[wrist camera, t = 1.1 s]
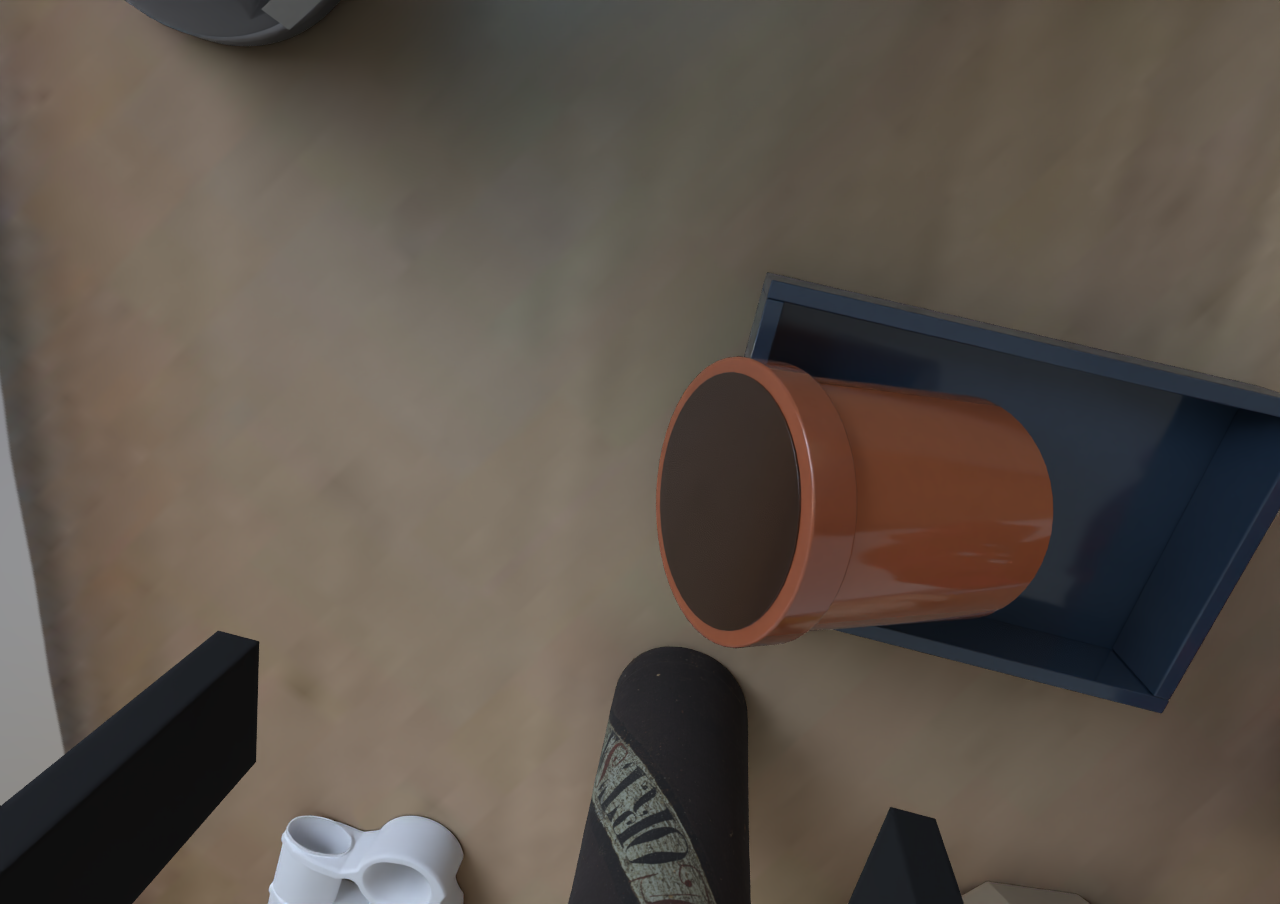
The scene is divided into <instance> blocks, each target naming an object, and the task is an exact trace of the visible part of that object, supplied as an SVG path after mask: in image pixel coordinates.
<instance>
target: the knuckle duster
mask: <svg viewBox="0 0 1280 904" xmlns="http://www.w3.org/2000/svg"><path fill="white" fill-rule="evenodd" d="M281 841H282V842H283V845H282V849H281V853H280V857H279V861H278V865H277V869H276V873H275V877H274V881H273V882H272V883H271V885H270V887H269V892H270V897H269V901H268V904H463V892H462V890H461V889H460V887H459V885H458V883H457V880H456V873H457V871H458V869H459V866H460V864H461V862H462V859H463V851H462V848H461V845H460V843H459V842H458V840H457V839H456V837H455V836H454V835H453V834H452V833H451V832H450V831H449V830H448V829H447V828H445V827H444V826H443V825H441V824H439V823H438V822H436V821H433V820H431V819H428V818H425V817H420V816H402V817H398V818H395V819H393V820H391V821H389V822H388V823H386V824H385V825H384V826H383V827H382V828H381V829H380V830H375V831H367V832H364V831H361V830H358V829H356V828H353V827H351V826H348V825H346V824H343V823H340V822H336V821H333V820H330V819H327V818H324V817H319V816H299V817H296V818H294V819H292V820H291V821H290V822H289V824H288V825H287V829H286V830H285V832H284V833H283V834H282V838H281ZM345 879H349V880H352V881H353V882H355V883H353V882H351V881H348V880H345Z"/></svg>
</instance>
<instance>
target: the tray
mask: <svg viewBox="0 0 1280 904" xmlns="http://www.w3.org/2000/svg"><path fill="white" fill-rule="evenodd" d="M744 357H750V358H758V359H765V360H773V361H780V362H786V363H789V364H791V365H794V366H797V367H798V368H800V369H801V370H803V371H805V372H806V373H808V374H809V375H810V376H816V377H825V378H833V379H841V380H849V381H858V382H866V383H874V384H882V385H891V386H899V387H907V388H915V389H924V390H932V391H940V392H948V393H957V394H964V395H971V396H976V397H979V398H982V399H985V400H988V401H990V402H992V403H994V404H996V405H998V406H1000V407H1001V408H1003V409H1004V410H1006V411H1007V412H1008V413H1010V414H1011V415H1012V416H1013V417H1014V418H1015V419H1016V420H1017V421H1019V422H1020V423H1021V424H1022V425H1023V427H1024V428H1025V429H1026V430H1027V432H1028V433H1029V434H1030V436H1031V437H1032V438H1033V440H1034V442H1035V443H1036V445H1037V447H1038V449H1039V450H1040V452H1041V455H1042V457H1043V460H1044V462H1045V464H1046V467H1047V471H1048V474H1049V478H1050V481H1051V488H1052V495H1053V524H1052V533H1051V537H1050V541H1049V545H1048V549H1047V552H1046V554H1045V557H1044V560H1043V562H1042V564H1041V566H1040V568H1039V570H1038V572H1037V573H1036V575H1035V577H1034V578H1033V580H1032V581H1031V582H1030V584H1029V585H1028V586H1027V588H1026V589H1025V590H1024V591H1023V592H1022V593H1021V594H1020V595H1019V596H1018V597H1017V598H1016V599H1015V600H1013V601H1012V602H1011V603H1009V604H1008V605H1006V606H1005V607H1004V608H1002V609H1000V610H998V611H996V612H994V613H992V614H989V615H986V616H982V617H979V618H972V619H964V620H951V621H937V622H924V623H911V624H897V625H884V626H871V627H857V628H844V629H833V630H837V631H841V632H844V633H848V634H852V635H856V636H860V637H864V638H868V639H872V640H876V641H880V642H884V643H887V644H891V645H895V646H899V647H903V648H907V649H911V650H915V651H919V652H923V653H927V654H931V655H934V656H938V657H942V658H946V659H950V660H954V661H958V662H962V663H966V664H970V665H974V666H977V667H981V668H985V669H989V670H993V671H997V672H1001V673H1005V674H1009V675H1013V676H1017V677H1020V678H1024V679H1028V680H1032V681H1036V682H1040V683H1044V684H1048V685H1052V686H1056V687H1060V688H1064V689H1067V690H1071V691H1075V692H1079V693H1083V694H1087V695H1091V696H1095V697H1099V698H1103V699H1107V700H1110V701H1114V702H1118V703H1122V704H1126V705H1130V706H1134V707H1138V708H1142V709H1146V710H1150V711H1154V712H1157V713H1162V712H1163V711H1164V709H1165V707H1166V706H1167V704H1168V702H1169V699H1170V698H1171V696H1172V694H1173V693H1174V691H1175V689H1176V688H1177V686H1178V684H1179V682H1180V681H1181V679H1182V677H1183V675H1184V674H1185V672H1186V670H1187V668H1188V667H1189V665H1190V663H1191V662H1192V660H1193V658H1194V656H1195V655H1196V653H1197V651H1198V649H1199V648H1200V646H1201V644H1202V643H1203V641H1204V639H1205V637H1206V636H1207V634H1208V632H1209V630H1210V629H1211V627H1212V625H1213V624H1214V622H1215V620H1216V618H1217V617H1218V615H1219V613H1220V611H1221V610H1222V608H1223V606H1224V605H1225V603H1226V601H1227V599H1228V598H1229V596H1230V594H1231V592H1232V591H1233V589H1234V587H1235V585H1236V584H1237V582H1238V580H1239V579H1240V577H1241V575H1242V573H1243V572H1244V570H1245V568H1246V566H1247V565H1248V563H1249V561H1250V560H1251V558H1252V556H1253V554H1254V553H1255V551H1256V549H1257V547H1258V546H1259V544H1260V542H1261V541H1262V539H1263V537H1264V535H1265V534H1266V532H1267V530H1268V528H1269V527H1270V525H1271V523H1272V522H1273V520H1274V518H1275V516H1276V515H1277V513H1278V511H1279V509H1280V392H1276V391H1273V390H1270V389H1267V388H1264V387H1261V386H1258V385H1253V384H1249V383H1245V382H1240V381H1236V380H1232V379H1227V378H1223V377H1219V376H1214V375H1210V374H1206V373H1201V372H1197V371H1193V370H1188V369H1184V368H1180V367H1175V366H1171V365H1167V364H1163V363H1158V362H1154V361H1150V360H1145V359H1141V358H1137V357H1132V356H1128V355H1124V354H1119V353H1115V352H1111V351H1106V350H1102V349H1098V348H1093V347H1089V346H1085V345H1081V344H1076V343H1072V342H1068V341H1063V340H1059V339H1055V338H1050V337H1046V336H1042V335H1037V334H1033V333H1029V332H1024V331H1020V330H1016V329H1011V328H1007V327H1003V326H998V325H994V324H990V323H986V322H981V321H977V320H973V319H968V318H964V317H960V316H955V315H951V314H947V313H942V312H938V311H934V310H929V309H925V308H921V307H916V306H912V305H908V304H903V303H899V302H895V301H891V300H886V299H882V298H878V297H873V296H869V295H865V294H860V293H856V292H852V291H847V290H843V289H839V288H834V287H830V286H826V285H821V284H817V283H813V282H808V281H804V280H800V279H796V278H791V277H787V276H783V275H778V274H774V273H770V272H767V273H766V277H765V280H764V284H763V288H762V291H761V295H760V299H759V303H758V306H757V310H756V314H755V317H754V321H753V325H752V329H751V332H750V336H749V340H748V343H747V347H746V351H745V355H744Z"/></svg>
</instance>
